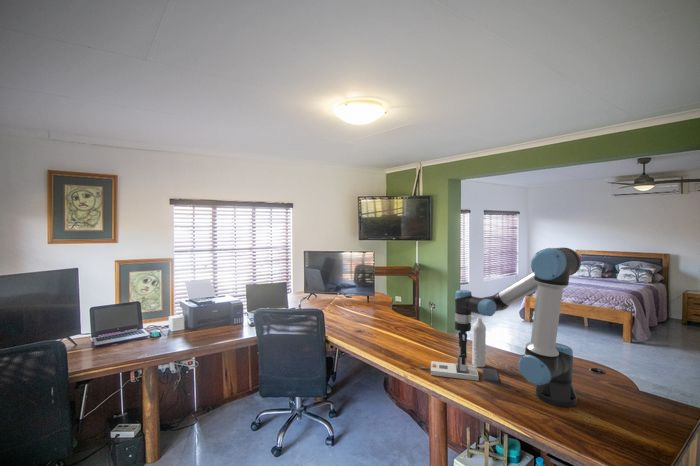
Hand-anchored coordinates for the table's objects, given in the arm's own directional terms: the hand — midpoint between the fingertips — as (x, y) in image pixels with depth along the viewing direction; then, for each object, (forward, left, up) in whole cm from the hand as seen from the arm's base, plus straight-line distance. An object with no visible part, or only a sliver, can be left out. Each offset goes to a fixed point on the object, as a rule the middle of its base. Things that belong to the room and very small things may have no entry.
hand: (462, 365), depth 167 cm
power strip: (+7, 0, -4) cm, 8 cm away
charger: (0, 0, -4) cm, 4 cm away
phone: (-13, -1, -5) cm, 14 cm away
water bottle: (-8, -14, -4) cm, 17 cm away
